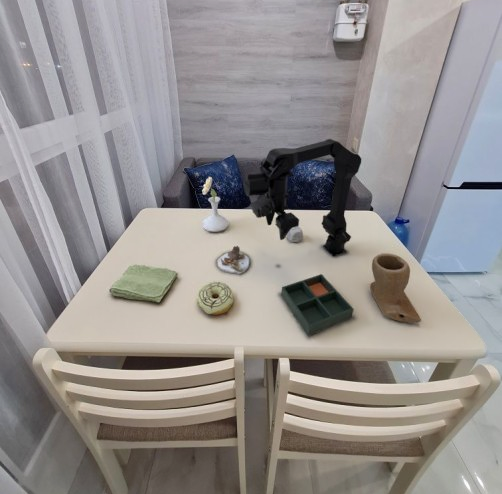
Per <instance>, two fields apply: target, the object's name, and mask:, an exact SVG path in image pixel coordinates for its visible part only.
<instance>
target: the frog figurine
mask: <svg viewBox="0 0 502 494" xmlns="http://www.w3.org/2000/svg"><path fill="white" fill-rule="evenodd" d="M240 249H241V247H239V246H238V245H236V246H233V247H232V249H231V250H230V251H228V252H227V253H224V254H223V255H222V256H220V257H219V258H218V259H217V262H216V264H217V267H218V268H219V269H220V270H221V271H223V272H224V273H225V272H226V273H230V274H233V273H235V274H237V275H241V274H243V273H245V272H246V271H247V270H248V268H249V267H250V258H249V256H247V255H246V254H244V253H242V252H240Z"/></svg>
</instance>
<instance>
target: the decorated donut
mask: <svg viewBox="0 0 502 494" xmlns="http://www.w3.org/2000/svg"><path fill="white" fill-rule="evenodd" d="M196 302H197V305H198V306H199V308H200V309H201V310H203V311H204V313H206V314H207V315H220V314H224V313H226V312H228V311H229V309H230V308H231V307H232V305H233V303H234V293H233V290H232V288H231V287H230V286H229V285H228V284H226V282H221V281H212V282H209V283H207V284H205V285H203V286H201V287H200V288H199V290H198V292H197V295H196Z"/></svg>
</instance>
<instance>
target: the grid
mask: <svg viewBox="0 0 502 494" xmlns="http://www.w3.org/2000/svg"><path fill="white" fill-rule="evenodd" d="M280 291H281V293H280V296H281V297H282V299H283V300H284V302H285V303H286V305H287V307H288V308H289V309H290V311H291V312H292V313H293V316H294V317H295V318H296V321H298V323H299V324H300V326H301V328H302V329H303V330H304V332H305V333H306V335H307V336H308V337H309V336H311V335H313V334H316V333H318V332H321V331H323V330H326V329H328V328H330V327H333V326H335V325H337V324H339V323H342V322H344V321H347V320H350V319H352V318H353V314H354V311H355V308H354V307H353V306H352V305H351V304H350V303H349V302H348V301H347V300H346V298H344V297H343V295H342V294H341V293H340V292H339V291H338V290H337V289H336V288H335V287H334V286H333V285H332V283H330V281H329V280H328V279H327V278H326V277H325V276H324V275H323V274H322V273H321V274H316V275H315V276H312V277H309V278H305V279H302V280H299V281H296V282H293V283H290V284H287V285H284V286H281V290H280Z"/></svg>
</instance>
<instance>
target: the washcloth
mask: <svg viewBox="0 0 502 494" xmlns="http://www.w3.org/2000/svg"><path fill="white" fill-rule="evenodd" d="M178 274H179V273H178V272H177V271H176V270H173V269H170V268H166V267H165V268H164V267H157V266H156V267H155V266H148V265H144V264H131V265H129V266H128V268H127V269H126V270H125V271H124V272H123V274H122V276H121V277H120V278H119V279H118V280H116V281H115V282H114V283H113V284H112V285H111V286H110V288H109V290H108V291H109V294H111V295H112V296H114V297H121V298H125V299H127V300H128V299H129V300H136V301H137V300H139V301H147V302H156V303H161V300H162V299H163V297H164V296H165V295H166V293H168V291H169V289H170V288H171V286H172V284H173V282H174V281H175V279H176V277H178Z"/></svg>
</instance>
